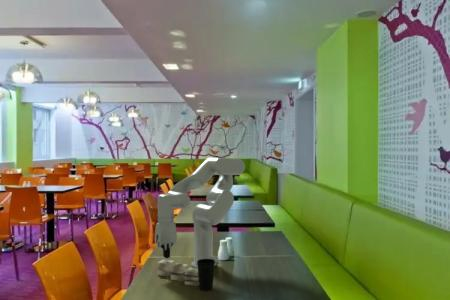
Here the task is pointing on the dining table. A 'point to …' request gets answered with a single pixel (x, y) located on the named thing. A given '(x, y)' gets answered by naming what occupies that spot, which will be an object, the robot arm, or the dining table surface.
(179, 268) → the banded block one
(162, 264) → the plain block
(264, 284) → the dining table surface
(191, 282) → the banded block two
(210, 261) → the cup
